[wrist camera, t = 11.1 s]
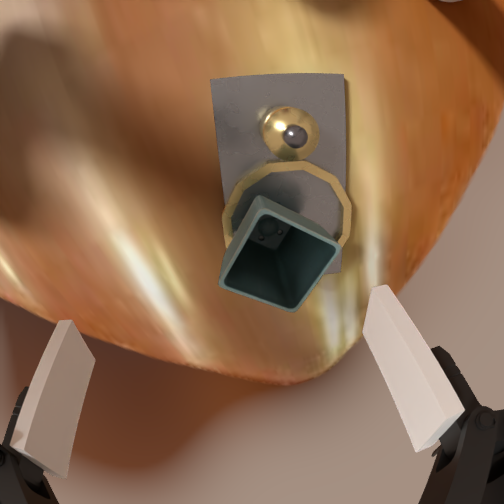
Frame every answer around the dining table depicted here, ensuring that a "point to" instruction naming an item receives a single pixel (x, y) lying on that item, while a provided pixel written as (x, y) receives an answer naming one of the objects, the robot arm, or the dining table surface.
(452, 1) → the cylinder vase
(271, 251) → the flower pot
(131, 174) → the dining table surface
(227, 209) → the board
